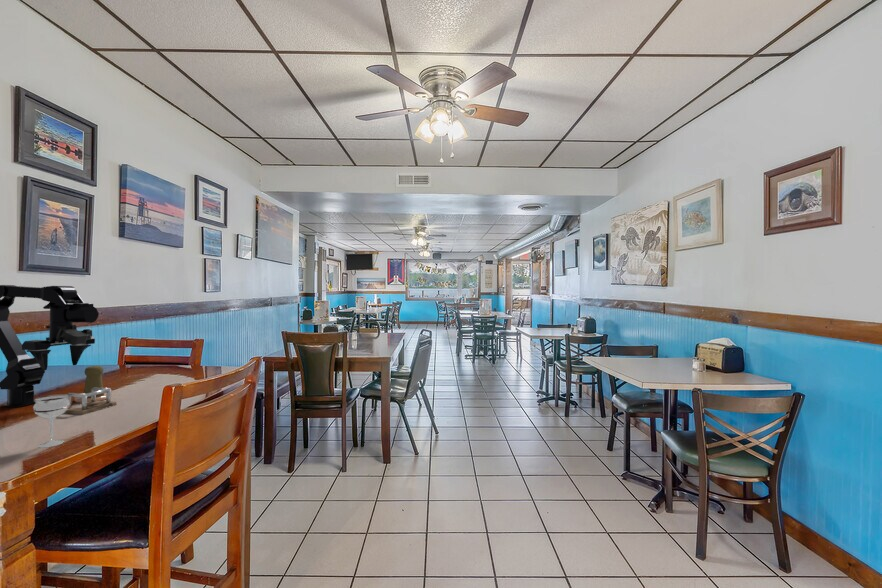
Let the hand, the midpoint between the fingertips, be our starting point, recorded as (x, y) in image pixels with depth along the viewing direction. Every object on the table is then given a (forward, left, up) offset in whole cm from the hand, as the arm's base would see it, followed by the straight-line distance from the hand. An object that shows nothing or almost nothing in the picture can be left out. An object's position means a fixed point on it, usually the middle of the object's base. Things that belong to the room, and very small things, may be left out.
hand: (60, 367), depth 133 cm
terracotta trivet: (+3, +9, -13) cm, 16 cm away
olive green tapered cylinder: (+3, +9, -12) cm, 15 cm away
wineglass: (+34, -28, -13) cm, 46 cm away
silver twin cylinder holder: (+13, -1, -13) cm, 18 cm away
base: (+13, -1, -13) cm, 18 cm away
